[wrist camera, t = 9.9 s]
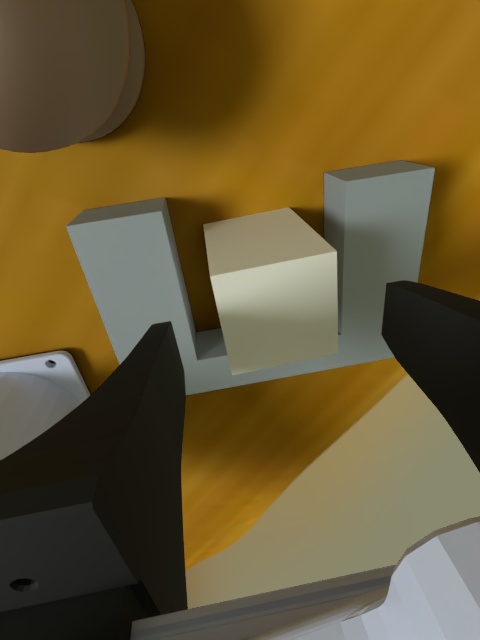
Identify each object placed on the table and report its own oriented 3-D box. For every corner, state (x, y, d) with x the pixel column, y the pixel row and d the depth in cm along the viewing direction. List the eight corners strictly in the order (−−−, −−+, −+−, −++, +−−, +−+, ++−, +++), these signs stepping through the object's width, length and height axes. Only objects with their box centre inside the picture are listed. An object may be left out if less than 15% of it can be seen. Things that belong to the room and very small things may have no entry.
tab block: (219, 300, 18) (232, 375, 13) (202, 223, 16) (209, 276, 11) (295, 285, 18) (338, 353, 13) (289, 207, 16) (336, 251, 11)
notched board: (141, 372, 19) (135, 404, 17) (83, 210, 15) (65, 226, 13) (383, 329, 20) (406, 355, 18) (401, 160, 15) (435, 167, 13)
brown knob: (8, 153, 13) (-65, 168, 10) (-87, -68, 10) (-249, -177, 7) (162, 130, 14) (153, 135, 10) (115, -93, 11) (73, -212, 7)
